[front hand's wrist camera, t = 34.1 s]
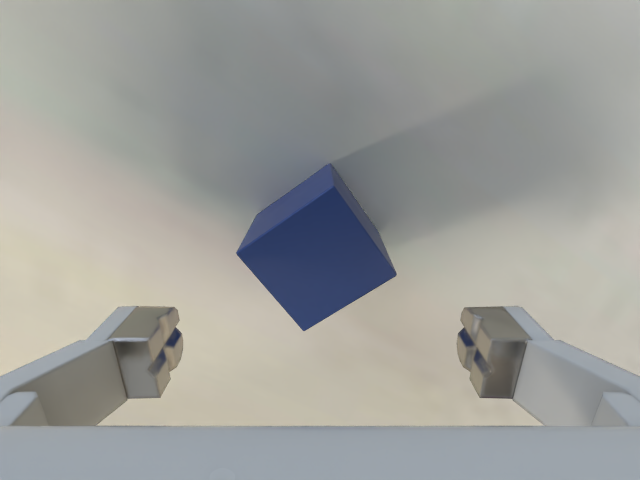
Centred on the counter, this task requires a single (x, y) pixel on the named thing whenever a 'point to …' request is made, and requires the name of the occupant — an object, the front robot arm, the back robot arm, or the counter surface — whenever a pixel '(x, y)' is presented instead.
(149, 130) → the counter surface
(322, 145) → the counter surface
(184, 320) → the counter surface
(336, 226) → the brick
